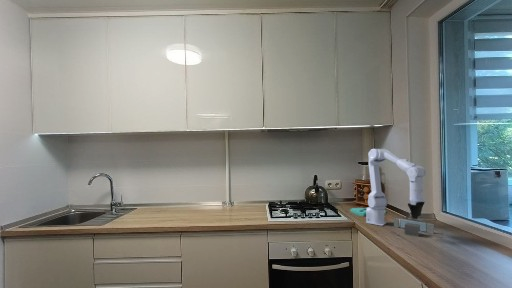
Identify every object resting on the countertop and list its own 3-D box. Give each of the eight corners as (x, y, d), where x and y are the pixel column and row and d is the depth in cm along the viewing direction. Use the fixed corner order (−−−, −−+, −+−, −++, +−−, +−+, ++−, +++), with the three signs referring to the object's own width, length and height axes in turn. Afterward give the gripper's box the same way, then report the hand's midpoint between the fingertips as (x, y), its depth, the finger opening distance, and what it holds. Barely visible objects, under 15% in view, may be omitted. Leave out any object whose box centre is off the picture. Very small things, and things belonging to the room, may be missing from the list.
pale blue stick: (400, 227, 151) (400, 219, 151) (401, 226, 151) (401, 219, 151) (425, 231, 143) (425, 223, 143) (426, 231, 143) (426, 223, 143)
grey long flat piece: (393, 226, 153) (393, 218, 153) (394, 226, 154) (394, 218, 154) (433, 233, 140) (433, 224, 140) (433, 233, 141) (433, 224, 141)
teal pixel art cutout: (386, 213, 186) (356, 209, 199) (386, 210, 186) (356, 206, 199) (377, 219, 171) (346, 214, 184) (377, 215, 171) (346, 211, 184)
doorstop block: (404, 234, 139) (404, 224, 140) (407, 232, 143) (407, 222, 143) (418, 236, 135) (417, 226, 136) (420, 234, 139) (420, 224, 139)
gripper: (422, 192, 128) (423, 221, 128) (427, 189, 139) (428, 215, 139) (406, 191, 133) (406, 218, 133) (412, 187, 144) (412, 213, 144)
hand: (416, 217), depth 136 cm, fingers open, 7 cm apart
